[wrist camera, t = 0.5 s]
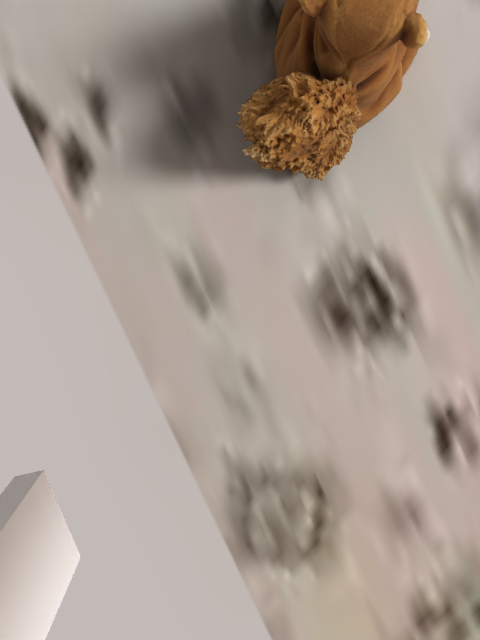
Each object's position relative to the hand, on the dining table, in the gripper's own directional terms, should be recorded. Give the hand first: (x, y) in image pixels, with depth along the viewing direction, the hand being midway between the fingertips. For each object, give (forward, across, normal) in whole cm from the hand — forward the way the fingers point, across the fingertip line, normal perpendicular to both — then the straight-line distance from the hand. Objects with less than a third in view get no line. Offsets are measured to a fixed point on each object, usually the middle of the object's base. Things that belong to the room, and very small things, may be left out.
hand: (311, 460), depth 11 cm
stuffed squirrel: (+27, +7, +12) cm, 31 cm away
